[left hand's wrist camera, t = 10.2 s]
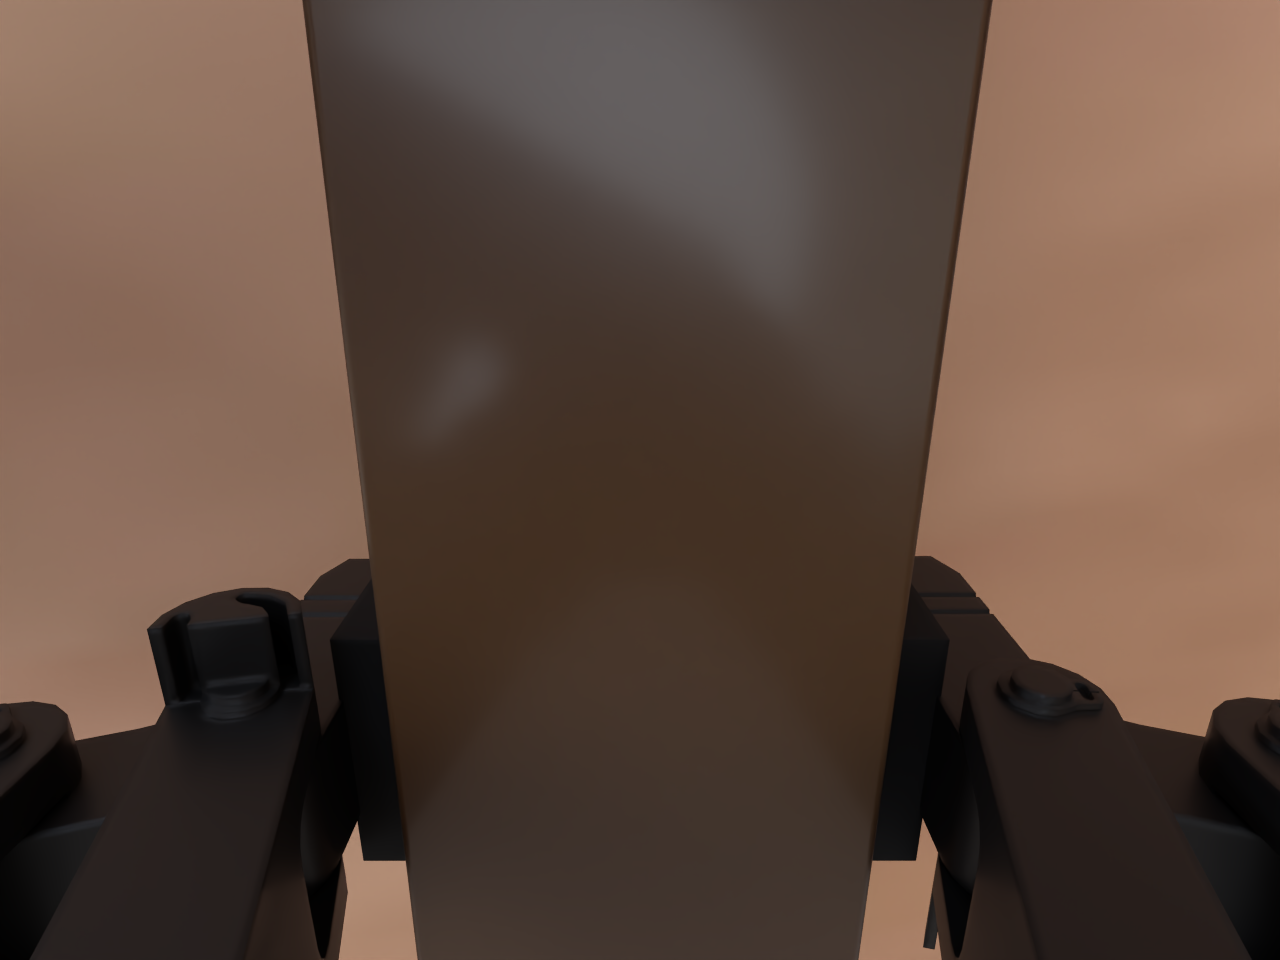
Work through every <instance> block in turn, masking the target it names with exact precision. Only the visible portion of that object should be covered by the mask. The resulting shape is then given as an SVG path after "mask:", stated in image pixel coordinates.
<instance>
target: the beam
mask: <svg viewBox="0 0 1280 960" xmlns="http://www.w3.org/2000/svg"><path fill="white" fill-rule="evenodd" d="M302 1H303V10H304V18H305V26H306V35H307V43H308V51H309V60H310V68H311V76H312V85H313V93H314V101H315V110H316V118H317V126H318V135H319V143H320V151H321V160H322V168H323V176H324V185H325V193H326V201H327V209H328V218H329V226H330V234H331V243H332V251H333V259H334V268H335V276H336V284H337V293H338V301H339V309H340V318H341V326H342V334H343V343H344V351H345V359H346V368H347V376H348V384H349V393H350V401H351V409H352V417H353V426H354V434H355V442H356V451H357V459H358V467H359V476H360V484H361V492H362V501H363V509H364V517H365V526H366V534H367V542H368V551H369V559H370V567H371V576H372V584H373V592H374V601H375V609H376V617H377V625H378V634H379V642H380V650H381V659H382V667H383V675H384V684H385V692H386V700H387V709H388V717H389V725H390V734H391V742H392V750H393V759H394V767H395V775H396V784H397V792H398V800H399V809H400V817H401V825H402V833H403V842H404V850H405V858H406V867H407V875H408V883H409V892H410V900H411V908H412V917H413V925H414V933H415V942H416V950H417V958H418V960H858V958H859V951H860V944H861V937H862V929H863V922H864V915H865V908H866V901H867V894H868V887H869V879H870V872H871V865H872V858H873V851H874V844H875V837H876V829H877V822H878V815H879V808H880V801H881V794H882V787H883V779H884V772H885V765H886V758H887V751H888V744H889V737H890V729H891V722H892V715H893V708H894V701H895V694H896V687H897V679H898V672H899V665H900V658H901V651H902V644H903V637H904V629H905V622H906V615H907V608H908V601H909V594H910V587H911V579H912V572H913V565H914V558H915V551H916V544H917V537H918V529H919V522H920V515H921V508H922V501H923V494H924V487H925V479H926V472H927V465H928V458H929V451H930V444H931V437H932V429H933V422H934V415H935V408H936V401H937V394H938V387H939V379H940V372H941V365H942V358H943V351H944V344H945V337H946V329H947V322H948V315H949V308H950V301H951V294H952V287H953V279H954V272H955V265H956V258H957V251H958V244H959V237H960V229H961V222H962V215H963V208H964V201H965V194H966V187H967V179H968V172H969V165H970V158H971V151H972V144H973V137H974V129H975V122H976V115H977V108H978V101H979V94H980V87H981V79H982V72H983V65H984V58H985V51H986V44H987V37H988V29H989V22H990V15H991V8H992V1H993V0H302Z"/></svg>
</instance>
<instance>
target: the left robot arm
mask: <svg viewBox="0 0 1280 960" xmlns="http://www.w3.org/2000/svg"><path fill="white" fill-rule="evenodd" d="M147 631H148V635H149V639H150V644H151V648H152V652H153V656H154V660H155V664H156V668H157V672H158V676H159V681H160V685H161V689H162V693H163V697H164V701H165V705H166V706H165V708H164V709H163V711H162V713H161V715H160V717H159V719H158V721H157V722H156V724H155V725H152V726H148V727H144V728H140V729H135V730H130V731H124V732H119V733H114V734H109V735H104V736H98V737H93V738H88V739H83V740H77V741H75V739H74V735H73V732H72V728H71V725H70V722H69V718H68V715H67V714H66V713H65V712H64V711H63V710H61V709H60V708H59V707H58V706H56V705H53V704H47V703H40V702H34V701H31V702H21V703H11V704H0V960H338V959H339V952H340V945H341V937H342V930H343V923H344V915H345V908H346V901H347V894H348V891H347V883H346V875H345V869H344V863H343V857H342V854H343V852H344V850H345V848H346V845H347V843H348V841H349V839H350V836H351V834H352V832H353V829H354V827H355V825H356V823H357V821H358V827H359V834H360V840H361V847H362V853H363V860H364V861H406V858H405V850H404V842H403V833H402V825H401V817H400V809H399V800H398V792H397V784H396V775H395V767H394V759H393V750H392V742H391V734H390V725H389V717H388V709H387V700H386V692H385V684H384V675H383V667H382V659H381V650H380V642H379V634H378V625H377V617H376V609H375V601H374V592H373V584H372V576H371V567H370V559H348V560H347V561H345V562H343V563H342V564H340V565H338V566H337V567H335V568H333V569H332V570H330V571H328V572H327V573H325V574H323V575H321V576H320V577H319V579H318V580H317V581H316V582H315V583H314V585H313V586H312V587H311V588H310V590H309V591H308V592H307V593H306V595H305V596H304V600H301V601H300V600H298V599H297V598H296V597H294V596H293V595H291V594H290V593H289V592H285V591H280V590H276V589H271V588H240V589H234V590H229V591H223V592H217V593H212V594H209V595H206V596H203V597H200V598H197V599H194V600H191V601H188V602H185V603H183V604H182V605H180V606H178V607H176V608H174V609H172V610H170V611H168V612H167V613H165V614H163V615H161V616H160V617H159V618H158V619H157V620H156V621H155V622H154V623H153V624H152V625H151V626H150V627H149V628H148V629H147ZM922 818H923V820H924V822H925V824H926V826H927V829H928V831H929V833H930V835H931V838H932V840H933V842H934V844H935V847H936V849H937V851H938V857H937V863H936V869H935V875H934V881H933V887H932V893H931V899H930V906H929V912H928V918H927V924H926V930H925V938H924V945H923V947H924V948H930V949H935V944H936V938H937V932H938V935H939V943H940V950H941V957H942V960H1280V700H1269V699H1259V698H1249V697H1247V698H1240V699H1234V700H1227V701H1224V702H1223V703H1222V704H1221V705H1219V706H1218V707H1217V708H1215V709H1214V710H1213V713H1212V716H1211V719H1210V723H1209V726H1208V730H1207V733H1206V736H1205V737H1202V736H1196V735H1191V734H1186V733H1181V732H1175V731H1170V730H1165V729H1160V728H1154V727H1149V726H1144V725H1139V724H1135V723H1131V722H1127V721H1123V719H1122V717H1121V715H1120V714H1119V712H1118V710H1117V708H1116V706H1115V704H1114V703H1113V702H1112V701H1111V700H1110V699H1109V697H1108V696H1107V695H1106V694H1105V693H1104V692H1103V691H1102V689H1101V688H1099V687H1098V686H1096V685H1095V684H1093V683H1091V682H1090V681H1088V680H1087V679H1085V678H1084V677H1082V676H1080V675H1079V674H1077V673H1074V672H1071V671H1069V670H1066V669H1064V668H1061V667H1059V666H1056V665H1054V664H1050V663H1045V662H1041V661H1036V660H1031V659H1029V657H1028V656H1027V655H1026V654H1025V653H1024V651H1023V650H1022V649H1021V648H1020V646H1019V645H1018V644H1017V643H1016V642H1015V640H1014V639H1013V638H1012V637H1011V635H1010V634H1009V633H1008V632H1007V631H1006V629H1005V628H1004V627H1003V626H1002V624H1001V623H1000V622H999V621H998V620H997V618H996V617H995V616H994V615H993V614H990V613H989V609H988V607H987V606H986V605H985V604H984V603H983V601H982V600H981V599H980V598H979V597H976V593H975V592H974V590H973V589H972V588H971V587H970V585H969V584H968V583H967V582H966V581H965V579H964V578H963V577H962V576H961V574H960V573H958V572H957V571H955V570H953V569H952V568H950V567H948V566H946V565H945V564H943V563H941V562H940V561H938V560H936V559H935V558H933V557H931V556H915V558H914V565H913V572H912V579H911V587H910V594H909V601H908V608H907V615H906V622H905V629H904V637H903V644H902V651H901V658H900V665H899V672H898V679H897V687H896V694H895V701H894V708H893V715H892V722H891V729H890V737H889V744H888V751H887V758H886V765H885V772H884V779H883V787H882V794H881V801H880V808H879V815H878V822H877V829H876V837H875V844H874V851H873V858H872V861H916V857H917V850H918V844H919V837H920V831H921V824H922Z"/></svg>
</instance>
